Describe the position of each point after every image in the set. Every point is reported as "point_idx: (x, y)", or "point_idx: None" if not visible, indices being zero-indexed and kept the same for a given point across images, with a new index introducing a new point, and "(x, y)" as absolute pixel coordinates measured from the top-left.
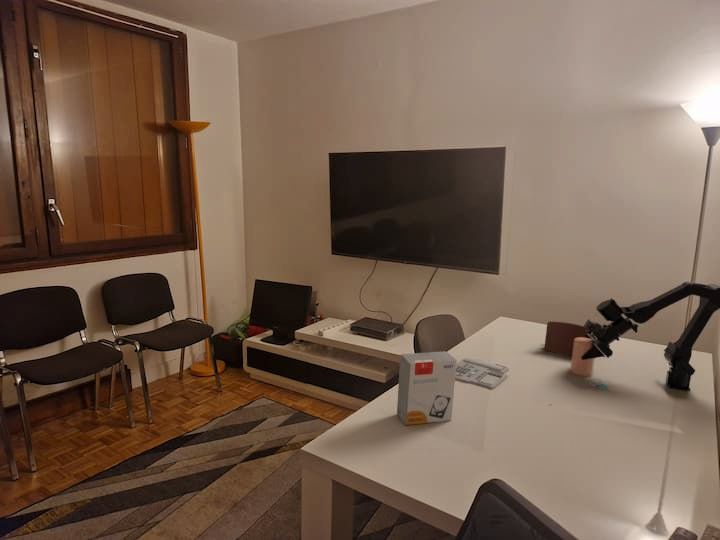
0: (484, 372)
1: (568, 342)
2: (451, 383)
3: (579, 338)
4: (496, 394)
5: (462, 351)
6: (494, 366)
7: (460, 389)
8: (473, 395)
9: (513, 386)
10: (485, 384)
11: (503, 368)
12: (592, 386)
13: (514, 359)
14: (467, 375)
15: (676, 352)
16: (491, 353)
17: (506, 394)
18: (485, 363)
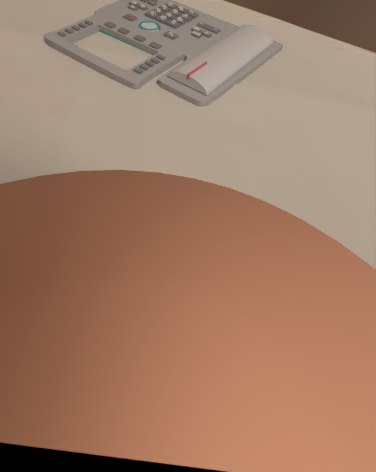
0: (152, 42)
1: None
2: None
3: (366, 395)
4: (11, 42)
5: (331, 49)
6: (191, 60)
7: (61, 3)
8: (21, 11)
9: (54, 83)
10: (66, 28)
11: (187, 82)
12: None
13: (317, 149)
14: (129, 14)
15: None
16: (351, 102)
17: (3, 57)
18: (213, 48)
